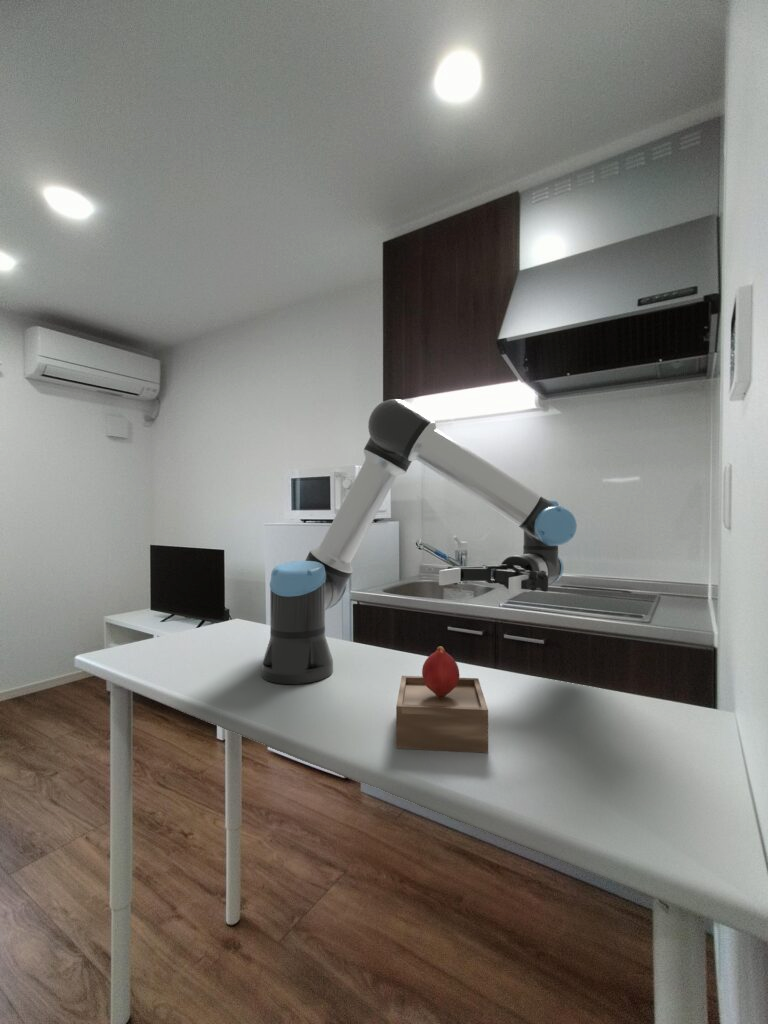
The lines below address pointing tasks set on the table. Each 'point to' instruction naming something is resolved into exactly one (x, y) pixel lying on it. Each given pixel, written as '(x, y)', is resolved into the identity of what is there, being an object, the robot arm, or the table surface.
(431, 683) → the onion
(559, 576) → the robot arm
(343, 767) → the table surface
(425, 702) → the walnut tray
